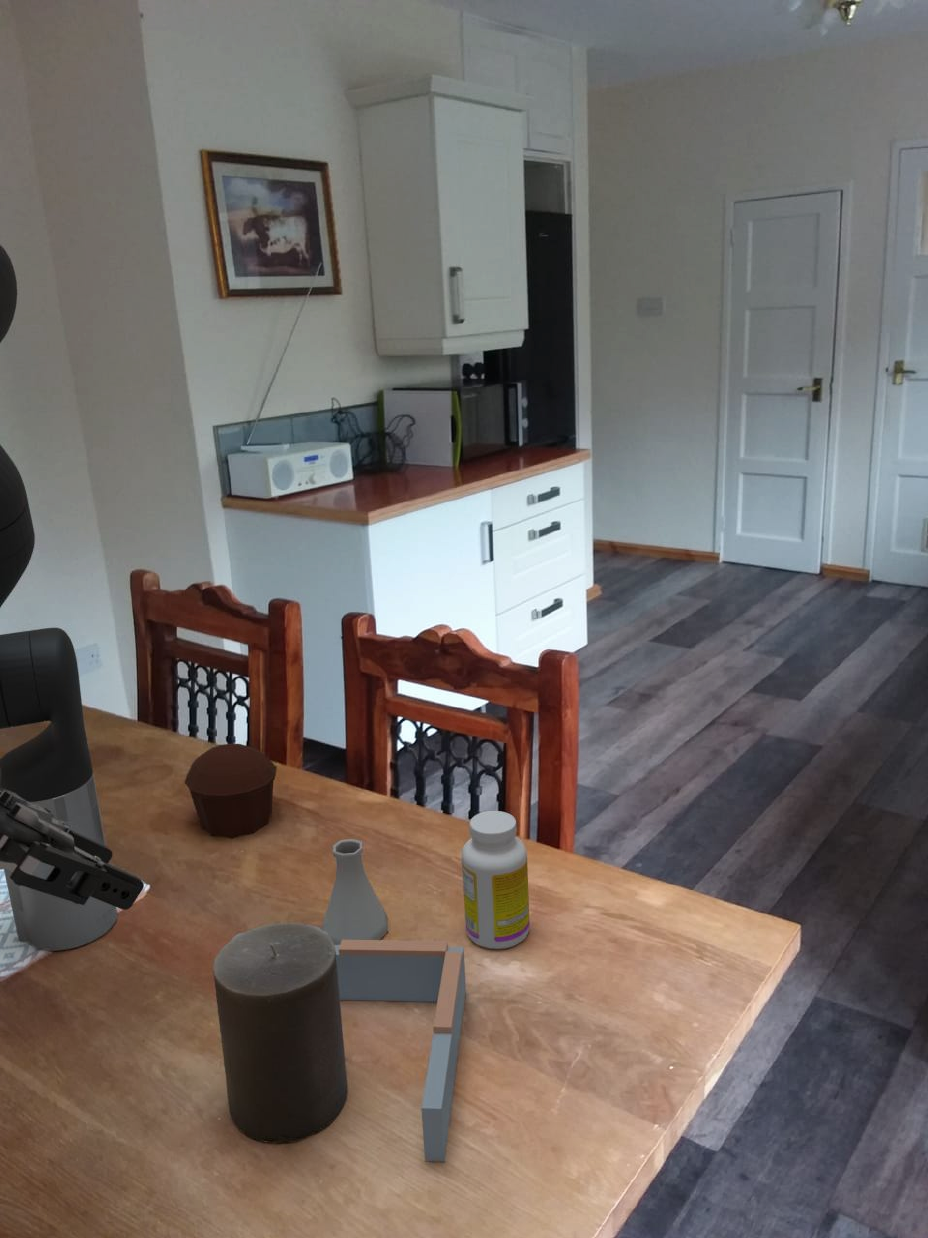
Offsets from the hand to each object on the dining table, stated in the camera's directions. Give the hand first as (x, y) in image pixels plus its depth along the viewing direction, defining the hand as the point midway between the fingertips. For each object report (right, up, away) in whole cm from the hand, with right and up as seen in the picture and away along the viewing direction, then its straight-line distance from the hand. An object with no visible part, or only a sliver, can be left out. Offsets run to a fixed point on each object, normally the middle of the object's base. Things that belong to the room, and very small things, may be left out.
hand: (118, 878), depth 70 cm
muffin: (-5, -8, +57) cm, 58 cm away
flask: (+13, -15, +34) cm, 39 cm away
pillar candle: (+10, -21, +12) cm, 26 cm away
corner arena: (+14, -20, +15) cm, 29 cm away
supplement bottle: (+28, -14, +32) cm, 45 cm away
